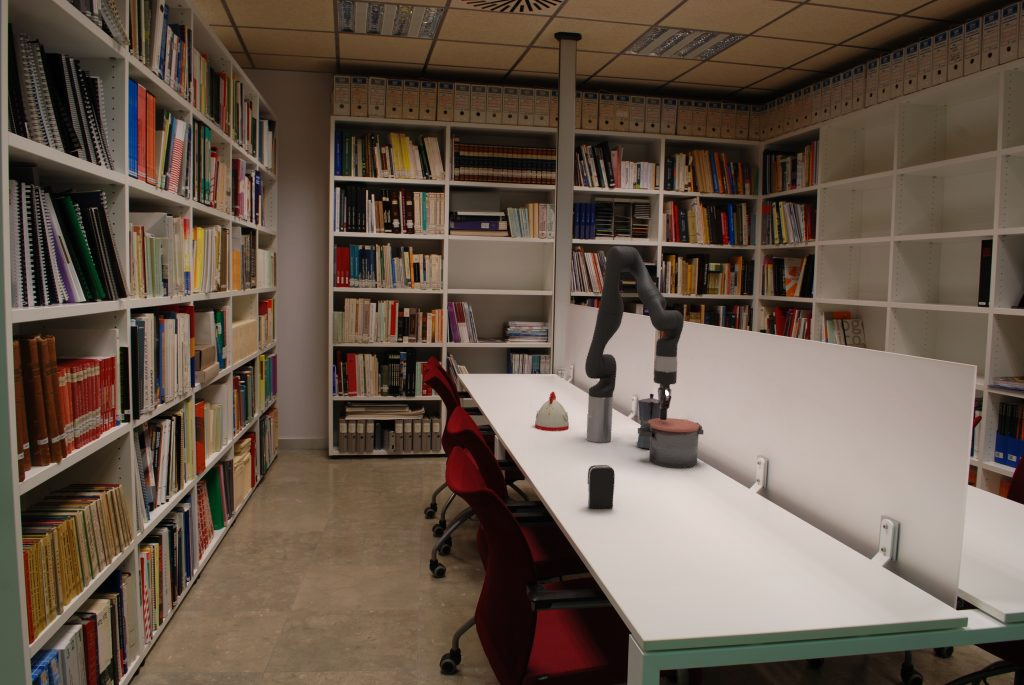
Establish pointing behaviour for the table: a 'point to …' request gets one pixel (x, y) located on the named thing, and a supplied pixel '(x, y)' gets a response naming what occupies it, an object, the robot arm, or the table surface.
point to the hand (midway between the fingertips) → (663, 419)
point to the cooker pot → (672, 447)
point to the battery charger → (600, 486)
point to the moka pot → (647, 417)
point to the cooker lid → (672, 425)
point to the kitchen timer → (552, 416)
